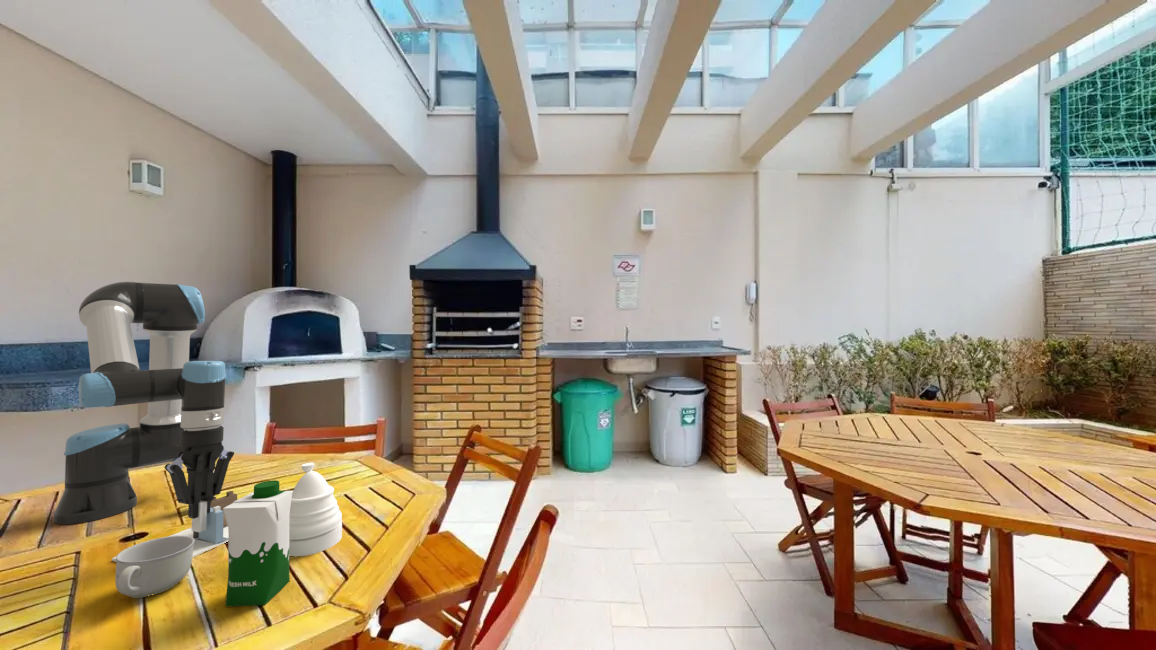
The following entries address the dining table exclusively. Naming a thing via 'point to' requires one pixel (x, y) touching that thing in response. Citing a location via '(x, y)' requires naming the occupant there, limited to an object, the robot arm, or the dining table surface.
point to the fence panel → (213, 526)
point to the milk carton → (258, 545)
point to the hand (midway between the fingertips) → (198, 530)
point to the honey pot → (313, 515)
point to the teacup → (153, 565)
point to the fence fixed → (221, 506)
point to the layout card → (200, 541)
